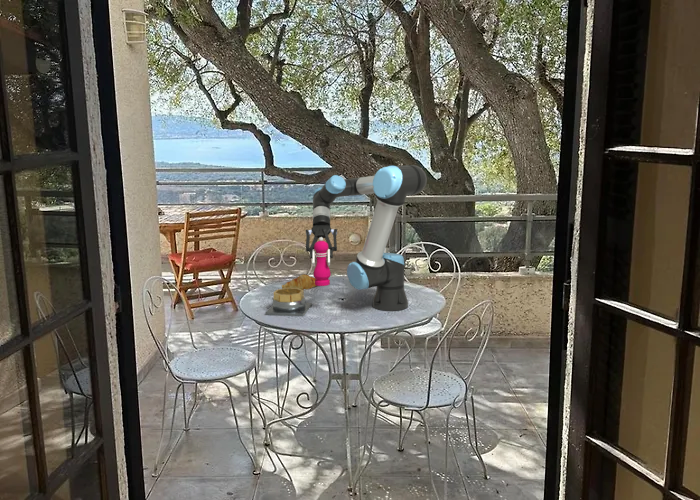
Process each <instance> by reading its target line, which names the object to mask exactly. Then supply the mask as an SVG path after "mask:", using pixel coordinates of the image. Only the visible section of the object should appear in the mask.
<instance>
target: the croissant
mask: <svg viewBox="0 0 700 500" xmlns="http://www.w3.org/2000/svg"><path fill="white" fill-rule="evenodd" d="M315 280H316V278H315V277H314V276H310V275H308V274H305V273H304V274H301V275H299V276H297V277H295V278H293V279H291V280H290V281H286V282H285V284H282V285H281V289H283V288H299V289H301V290H304V289H306V290H309V289H313V288H315V287H317V286H316V285H315ZM304 291H305V290H304Z"/></svg>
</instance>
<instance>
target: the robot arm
mask: <svg viewBox="0 0 700 500" xmlns="http://www.w3.org/2000/svg"><path fill="white" fill-rule="evenodd" d="M427 182H428V179H427V174H426V172H425V171H424V170H423V169H422V168H421V167H420V166H418V165H416V164H415V165H414V164H408V165H407V164H406V165H388V166H383V167H382V168H380V169H378V170H377V171H376V173H375V174H374V175H369V176H361V177H355V178H354V177H353V178H343V177H342V176H340V175H338V174H334V175H332V176H331V177H329V179H327V181H326V182H325V183H324V185H323V186H322V187H321V186H320V187H317V188H315V189H314V191H313V193H312V194H313V196H312V227H311V229H305V235H306V238H305V239H306V241H305V251H306V252H307V253H308V252H309V258H310V259H312V267H316V261H315V260H316V256H315V255H316V254H315V253H316V251H315V250H314V245H315V243H316V242H318V241H319V238H320V237H322V238H323V239H324V241H325V242H327V244H328V250H327V265H328V267H330V266H331V259H333V257H334V256H333V255H334V254H333V252H334V251H335V252H337V251H338V245H337V241H338V240H337V235H338V229H337V228H331V204H333V202H334V201H335V200H336V199H337V198H342V197H352V196H362V195H374V198H375V199H376V200H377V201H376V205H375V208H374V210H373V211H374V212H373V216H372V218H371V221H370V225H369V228H368V231H367V235H366V238H365V242H364V244H363V248H362V251H359V252H358V253H357V254H356V258H355V261H352V262H350V263H349V264H348V265H347V268H346V275H347V279H348V281H349V283H350V285H351V286H352V287H353V288H354V289H356V290H360V291H361V290H367V289H370V288H375V287H376V291H375V294H374V297H373V299H372V307H373V308H374V309H375V310H379V311H387V312H388V311H390V312H395V311H401V310H402V311H403V310H406V309H407V308H408V307H409V299H408V297H407V294H406V291H405V259H404V256H403V255H402V254H400V253H395V252H394V253H393V252H385V251H386V248H387V245H388V241H389V238H390V236H391V232H392V228H393V227H394V224H395V223H394V222H395V219H396V216H397V214H398V211H399V208H400V207H403V206H404V205H405V202H406V199H407V197H408V196H415V195H417V194H419V193H421V192H423V190H424V189H425V187H426V186H427ZM312 234H313V235H314V236H313V239H312V242H311V241H310V240H311V238H310V237H311V235H312ZM330 234H331V235H332V236H333V238H332V239H333V245H332V243H331V240H330V237H329V235H330ZM310 242H311V245H310Z"/></svg>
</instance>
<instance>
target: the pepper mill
mask: <svg viewBox="0 0 700 500" xmlns="http://www.w3.org/2000/svg"><path fill="white" fill-rule="evenodd" d="M328 249H329V248H328V244H327V242H326V240H324V238H322V237H320V238H318V241H317V242H316V243H315V245H314V250H315V258H316V263H315V266H314V270H313V273H312V274H313V278H316V280H315V285H316V287H325V286H330V285H331V281H330V279H329V278H330V277H331V270H330V266H328Z"/></svg>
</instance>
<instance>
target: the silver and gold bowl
mask: <svg viewBox="0 0 700 500" xmlns="http://www.w3.org/2000/svg"><path fill="white" fill-rule="evenodd" d="M304 292H305V290H301V289H299V288H283V289H282V288H280V289H279V288H278V289H276V290H274V291H273V298H272V305H271V306H270V307H269V308H268V309H267V310H266V311H265V316H277V317H278V316H281V317H282V316H283V317H304V316H305V315H306V314H307V312H308V311H309V310H310V309H311V308H312V306H313V303H312V302H306V297H305V293H304ZM309 308H310V309H309Z"/></svg>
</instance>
